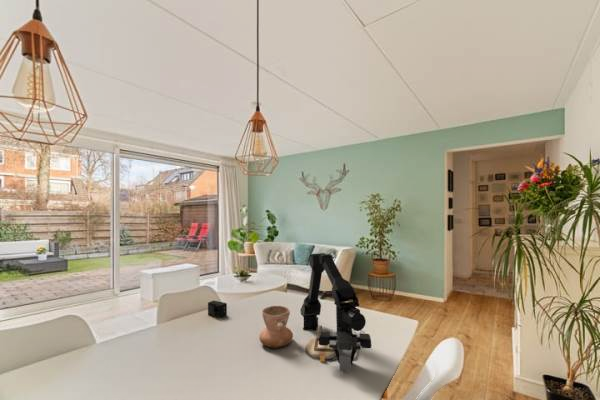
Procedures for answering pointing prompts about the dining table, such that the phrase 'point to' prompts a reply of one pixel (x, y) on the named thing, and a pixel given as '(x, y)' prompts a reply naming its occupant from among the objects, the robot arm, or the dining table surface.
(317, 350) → the index disc
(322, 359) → the turntable base
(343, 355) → the link block
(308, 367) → the dining table surface
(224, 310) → the digital camera
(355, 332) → the adjustable wrench
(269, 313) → the ceramic jug
